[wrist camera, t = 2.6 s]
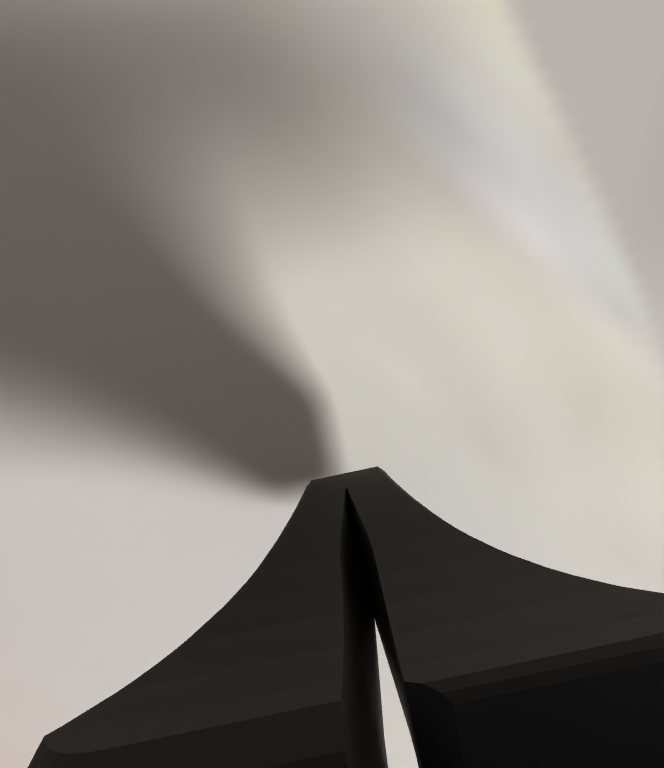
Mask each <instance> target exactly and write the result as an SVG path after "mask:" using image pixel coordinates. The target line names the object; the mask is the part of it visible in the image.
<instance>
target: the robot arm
mask: <svg viewBox="0 0 664 768" xmlns="http://www.w3.org/2000/svg"><path fill="white" fill-rule="evenodd" d="M374 618H375V619H374ZM375 621H376V625H377V628H378V631H379V634H380V638H381V641H382V644H383V647H384V650H385V654H386V657H387V660H388V663H389V667H390V670H391V673H392V676H393V679H394V683H395V686H396V689H397V692H398V695H399V699H400V702H401V705H402V708H403V711H404V715H405V718H406V721H407V724H408V728H409V731H410V735H411V738H412V742H413V746H414V750H415V753H416V757H417V762H418V766H419V768H664V593H658V592H652V591H646V590H639V589H633V588H627V587H621V586H616V585H611V584H607V583H603V582H599V581H595V580H590V579H586V578H582V577H578V576H574V575H570V574H567V573H563V572H560V571H557V570H553V569H550V568H547V567H544V566H541V565H538V564H535V563H532V562H530V561H527V560H524V559H521V558H518V557H516V556H513V555H511V554H508V553H506V552H503V551H501V550H498V549H496V548H494V547H492V546H490V545H488V544H486V543H484V542H482V541H479V540H477V539H475V538H473V537H471V536H469V535H467V534H465V533H464V532H462V531H460V530H458V529H456V528H455V527H453V526H452V525H450V524H449V523H447V522H445V521H444V520H442V519H441V518H439V517H438V516H437V515H435V514H434V513H432V512H431V511H430V510H428V509H427V508H426V507H424V506H423V505H422V504H420V503H419V502H418V501H416V500H415V499H414V498H413V497H411V496H410V495H409V494H408V493H407V492H406V491H404V490H403V489H402V488H401V487H400V486H399V485H398V484H397V483H395V482H394V481H393V480H392V479H391V478H390V477H389V476H388V475H387V474H386V472H385V471H383V470H382V469H380V468H379V467H373V468H368V469H364V470H359V471H354V472H349V473H345V474H340V475H335V476H330V477H326V478H321V479H316V480H311V482H310V483H309V484H308V486H307V487H306V489H305V491H304V493H303V495H302V497H301V499H300V501H299V503H298V505H297V507H296V509H295V511H294V513H293V515H292V516H291V518H290V520H289V521H288V523H287V525H286V526H285V528H284V530H283V531H282V533H281V535H280V536H279V538H278V540H277V541H276V543H275V544H274V546H273V547H272V549H271V550H270V551H269V553H268V554H267V556H266V557H265V559H264V560H263V561H262V563H261V564H260V566H259V567H258V568H257V570H256V571H255V572H254V574H253V575H252V576H251V577H250V578H249V580H248V581H247V582H246V583H245V584H244V585H243V586H242V587H241V589H240V590H239V591H238V592H237V593H236V594H235V595H234V596H233V597H232V598H231V600H230V601H229V602H228V603H227V604H226V605H225V606H224V607H223V608H222V609H221V610H219V611H218V612H217V613H216V614H215V615H214V616H213V617H212V618H211V619H210V620H209V621H207V622H206V623H205V624H204V625H203V626H202V627H201V628H200V629H199V630H198V631H196V632H195V633H194V634H193V635H192V636H191V637H190V638H189V639H188V640H187V641H185V642H184V643H183V644H182V645H181V646H179V647H178V648H177V649H176V650H174V651H173V652H172V653H170V654H169V655H168V656H167V657H165V658H164V659H163V660H162V661H160V662H159V663H158V664H156V665H155V666H153V667H152V668H151V669H149V670H148V671H147V672H145V673H144V674H142V675H141V676H140V677H138V678H137V679H136V680H134V681H133V682H131V683H130V684H128V685H127V686H125V687H124V688H122V689H121V690H119V691H118V692H117V693H115V694H113V695H112V696H110V697H109V698H107V699H105V700H104V701H102V702H100V703H99V704H97V705H96V706H94V707H92V708H91V709H89V710H87V711H86V712H84V713H83V714H81V715H79V716H78V717H76V718H75V719H73V720H71V721H70V722H68V723H66V724H65V725H63V726H62V727H60V728H58V729H56V730H55V731H53V732H51V733H49V734H48V735H46V736H44V738H43V740H42V741H41V743H40V745H39V747H38V749H37V751H36V753H35V755H34V757H33V759H32V760H31V762H30V764H29V766H28V768H388V764H387V756H386V748H385V740H384V730H383V717H382V705H381V692H380V680H379V667H378V654H377V642H376V630H375Z"/></svg>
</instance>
